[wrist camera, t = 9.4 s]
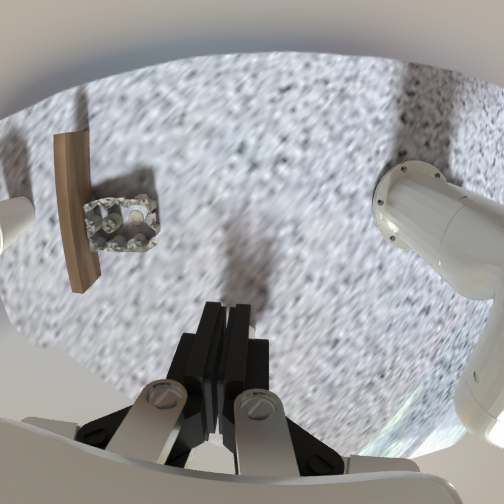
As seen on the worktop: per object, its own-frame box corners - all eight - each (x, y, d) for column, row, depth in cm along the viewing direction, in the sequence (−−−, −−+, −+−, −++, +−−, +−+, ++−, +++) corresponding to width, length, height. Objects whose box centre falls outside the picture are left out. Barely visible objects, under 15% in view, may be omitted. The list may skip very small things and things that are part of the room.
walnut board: (89, 130, 36) (65, 132, 30) (101, 275, 44) (83, 293, 38) (77, 132, 36) (53, 134, 30) (90, 274, 44) (72, 292, 38)
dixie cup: (3, 198, 39) (-35, 215, 30) (30, 180, 38) (-12, 196, 29) (19, 241, 42) (-17, 264, 33) (47, 228, 41) (9, 251, 32)
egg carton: (158, 190, 39) (148, 197, 35) (163, 243, 42) (154, 255, 38) (91, 195, 39) (77, 202, 36) (99, 244, 42) (86, 254, 38)
